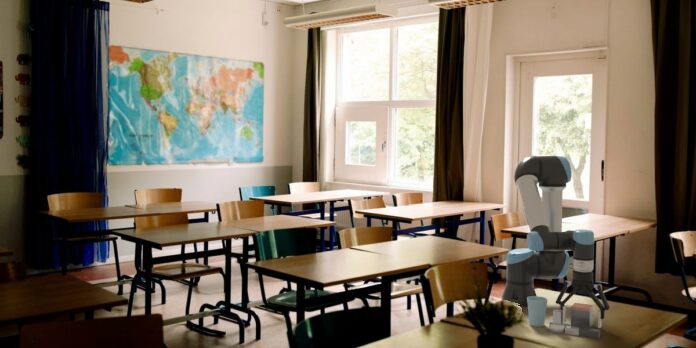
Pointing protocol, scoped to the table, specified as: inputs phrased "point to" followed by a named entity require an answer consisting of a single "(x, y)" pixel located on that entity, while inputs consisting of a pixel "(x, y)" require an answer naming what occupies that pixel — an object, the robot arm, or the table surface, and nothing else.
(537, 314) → the cup
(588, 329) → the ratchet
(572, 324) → the red-topped grey block
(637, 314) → the table surface
